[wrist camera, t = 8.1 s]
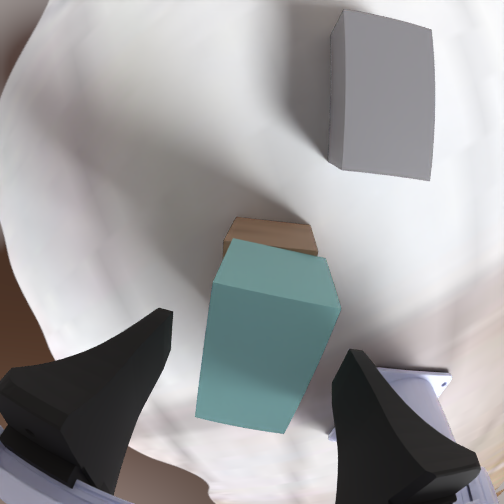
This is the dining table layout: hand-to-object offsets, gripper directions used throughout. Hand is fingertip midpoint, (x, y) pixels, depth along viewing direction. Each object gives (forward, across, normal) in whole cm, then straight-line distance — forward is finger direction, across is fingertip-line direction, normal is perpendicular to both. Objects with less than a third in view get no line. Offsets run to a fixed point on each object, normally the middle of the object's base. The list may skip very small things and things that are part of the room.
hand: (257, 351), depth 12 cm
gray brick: (+7, -3, -11) cm, 13 cm away
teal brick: (+3, 0, 0) cm, 3 cm away
